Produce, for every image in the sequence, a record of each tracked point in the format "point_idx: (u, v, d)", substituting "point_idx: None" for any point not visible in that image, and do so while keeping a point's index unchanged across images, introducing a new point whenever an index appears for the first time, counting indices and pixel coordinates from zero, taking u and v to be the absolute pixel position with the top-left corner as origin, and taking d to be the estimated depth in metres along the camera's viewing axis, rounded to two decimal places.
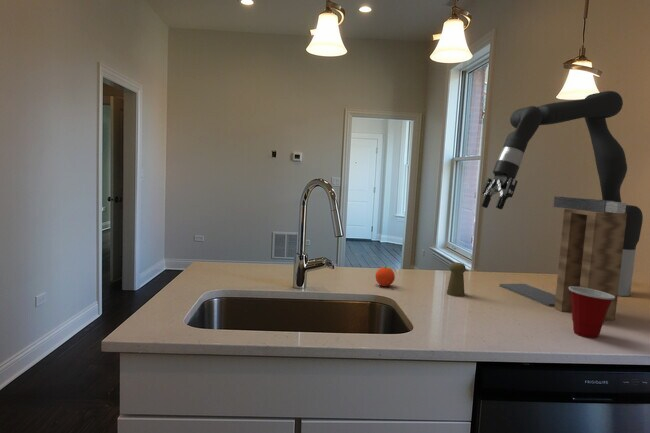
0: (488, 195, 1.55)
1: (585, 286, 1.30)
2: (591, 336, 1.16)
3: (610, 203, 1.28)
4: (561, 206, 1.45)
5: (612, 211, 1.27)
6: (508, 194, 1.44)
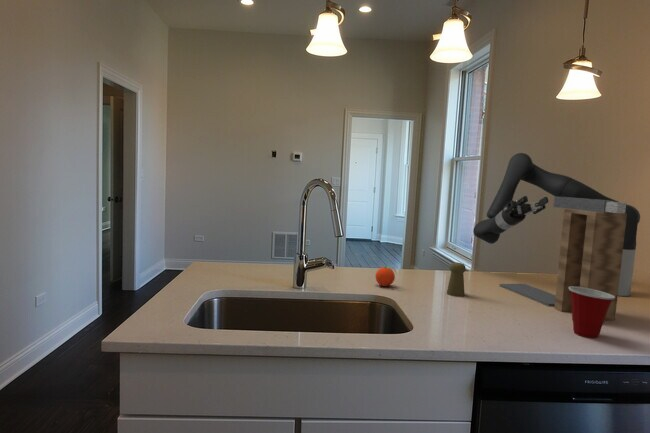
0: (539, 204, 1.64)
1: (585, 286, 1.30)
2: (591, 336, 1.16)
3: (610, 203, 1.28)
4: (561, 206, 1.45)
5: (612, 211, 1.27)
6: (511, 204, 1.62)
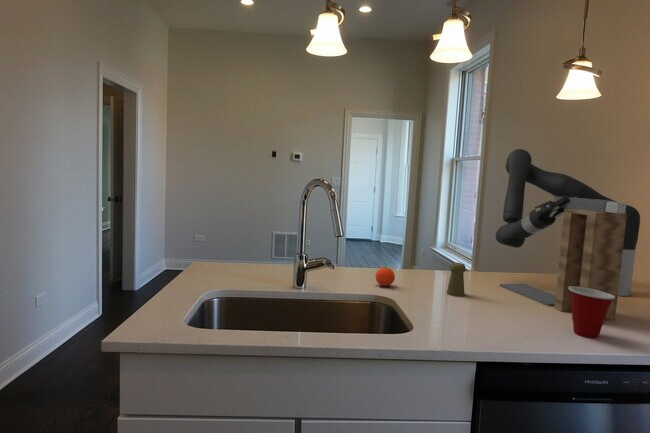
0: None
1: (585, 286, 1.30)
2: (591, 336, 1.16)
3: (610, 203, 1.28)
4: (561, 206, 1.45)
5: (612, 211, 1.27)
6: (549, 205, 1.46)
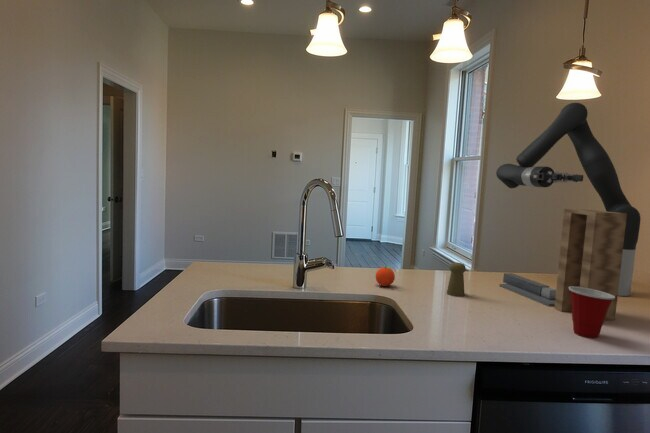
0: (572, 178, 1.53)
1: (585, 286, 1.30)
2: (591, 336, 1.16)
3: (544, 289, 1.52)
4: (509, 283, 1.69)
5: (546, 296, 1.51)
6: (543, 177, 1.51)
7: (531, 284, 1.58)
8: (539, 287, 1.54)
